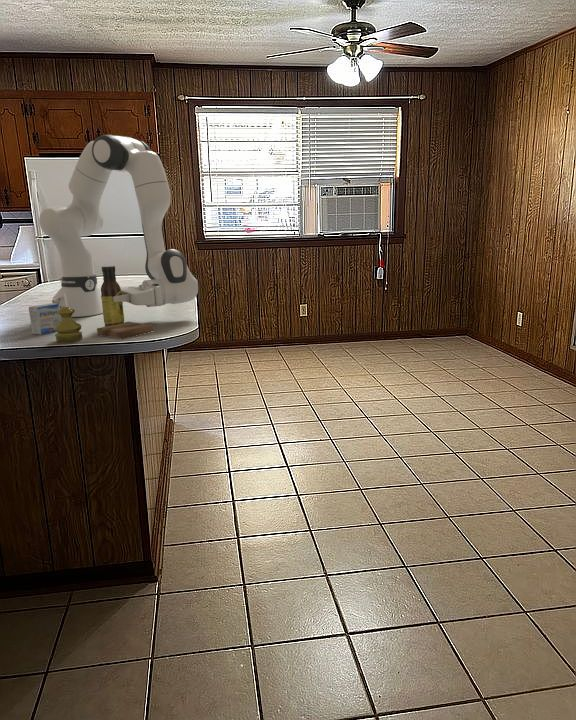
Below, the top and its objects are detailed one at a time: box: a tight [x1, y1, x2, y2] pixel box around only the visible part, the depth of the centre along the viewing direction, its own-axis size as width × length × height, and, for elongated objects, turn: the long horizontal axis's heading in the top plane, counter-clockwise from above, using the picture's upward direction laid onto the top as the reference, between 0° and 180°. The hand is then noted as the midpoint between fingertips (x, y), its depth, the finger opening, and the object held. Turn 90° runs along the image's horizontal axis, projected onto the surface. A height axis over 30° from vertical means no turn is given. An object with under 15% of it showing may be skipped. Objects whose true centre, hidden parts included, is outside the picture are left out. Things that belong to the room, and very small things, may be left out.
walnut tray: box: [96, 321, 155, 340], centre depth 173 cm, size 12×12×2 cm
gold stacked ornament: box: [54, 307, 84, 344], centre depth 164 cm, size 7×7×10 cm
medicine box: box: [28, 302, 62, 336], centre depth 178 cm, size 8×4×9 cm, turn 148°
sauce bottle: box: [100, 265, 125, 327], centre depth 178 cm, size 6×6×20 cm
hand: (109, 297), depth 178 cm, fingers closed on sauce bottle, 6 cm apart
